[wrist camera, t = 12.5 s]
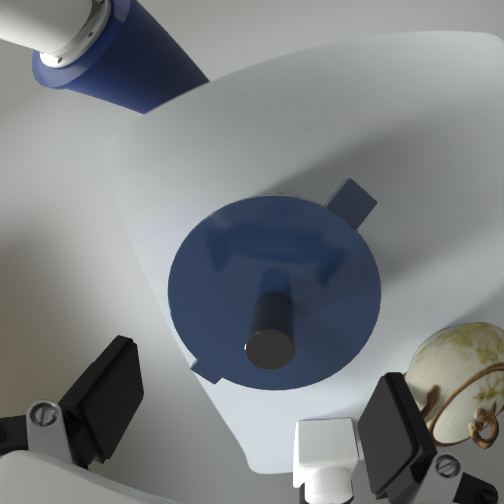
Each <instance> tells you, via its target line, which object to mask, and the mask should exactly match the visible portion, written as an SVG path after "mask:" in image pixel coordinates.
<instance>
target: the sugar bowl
mask: <svg viewBox="0 0 504 504" xmlns="http://www.w3.org/2000/svg"><path fill="white" fill-rule="evenodd" d="M403 377H404V379H405V381H406V383H407V385H408V387H409V389H410V391H411V393H412V395H413V397H414V399H415V402H416V404H417V406H418V408H419V410H420V412H421V414H422V417H423V419H424V421H425V423H426V425H427V428H428V430H429V432H430V435H431V437H432V439H433V442H434V444H435V446H438V447H447V446H452V445H455V444H459V443H461V442H463V441H466V440H468V439H469V438H472V440H473V441H474V443H476V444H477V445H478V446H479V447H481V448H483V449H487V448H489V447H490V446H491V445H492V444H493V443H494V442H495V440H496V438H497V436H498V433H499V425H498V421H497V419H496V416H497V415H498V414H499V413H500V412H501V411H503V410H504V330H503V329H501V328H500V327H498V326H495V325H493V324H489V323H469V324H463V325H459V326H456V327H453V328H447V329H444V330H441V331H439V332H437V333H435V334H434V335H432V336H431V337H429V338H428V339H427V340H426V341H425V342H424V343H423V344H422V345H421V346H420V347H419V349H418V350H417V352H416V353H415V355H414V357H413V359H412V361H411V364H410V366H409V368H408V370H407V371H406V372H405V373H404V374H403ZM489 424H490V426H491V428H492V434H491V438H489V439H487V440H486V439H482V438H481V436H480V435H479V432H481V431H482V430H483V429H484V428H485V427H486V426H488V425H489Z"/></svg>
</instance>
